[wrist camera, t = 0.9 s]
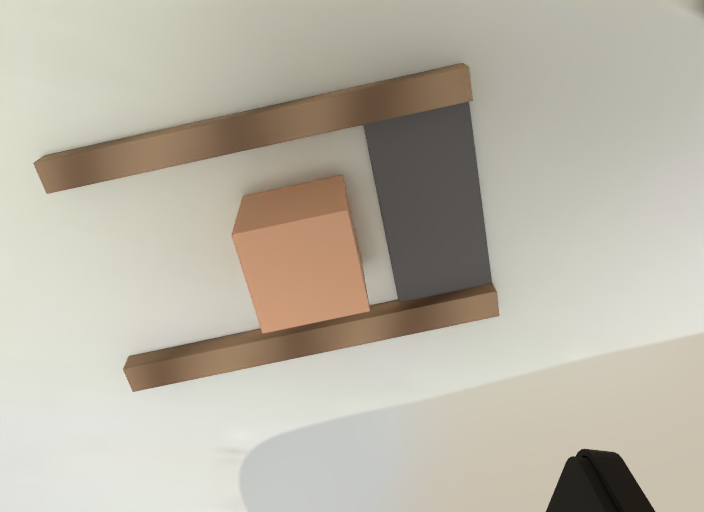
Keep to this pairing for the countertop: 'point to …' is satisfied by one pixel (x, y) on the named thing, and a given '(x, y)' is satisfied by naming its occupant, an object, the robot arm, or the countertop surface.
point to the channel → (394, 198)
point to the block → (300, 254)
